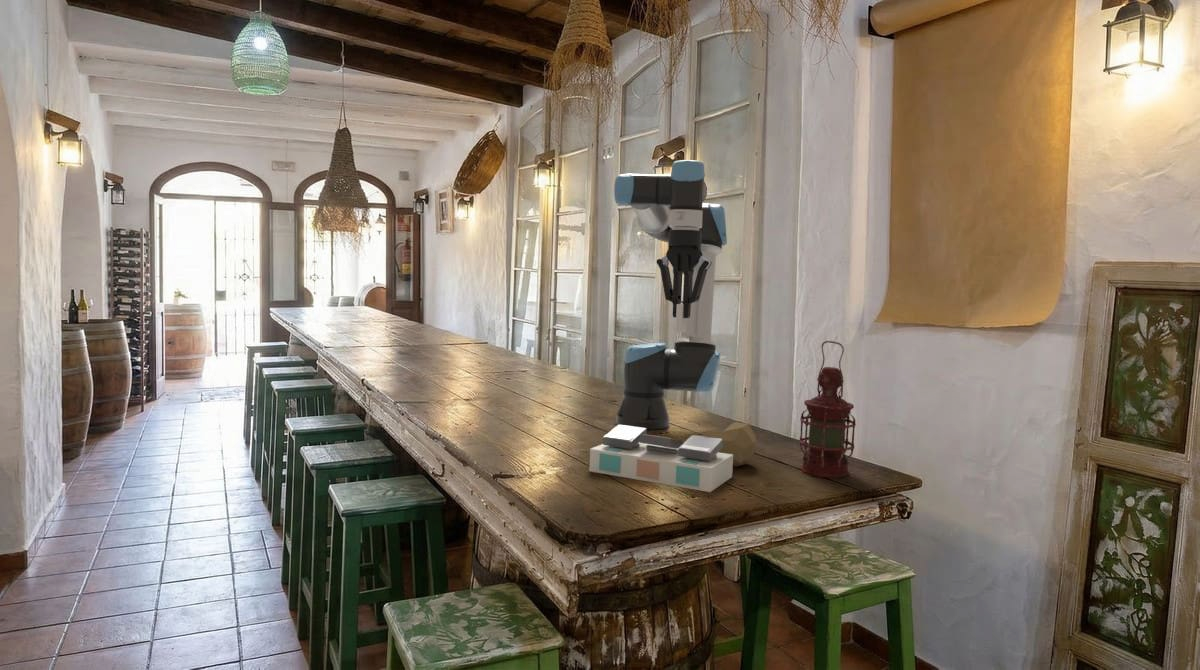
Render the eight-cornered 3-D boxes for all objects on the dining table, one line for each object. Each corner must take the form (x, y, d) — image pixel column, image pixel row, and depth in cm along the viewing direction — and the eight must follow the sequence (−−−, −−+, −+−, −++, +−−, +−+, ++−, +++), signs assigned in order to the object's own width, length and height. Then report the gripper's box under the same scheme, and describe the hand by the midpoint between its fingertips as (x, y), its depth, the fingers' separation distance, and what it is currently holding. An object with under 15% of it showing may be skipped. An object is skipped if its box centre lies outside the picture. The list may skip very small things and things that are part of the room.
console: (617, 458, 188) (618, 433, 187) (732, 477, 175) (733, 450, 175) (588, 471, 175) (589, 444, 175) (709, 492, 163) (711, 463, 162)
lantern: (786, 466, 186) (794, 338, 183) (829, 463, 190) (837, 338, 188) (819, 480, 175) (827, 344, 172) (864, 477, 179) (873, 344, 176)
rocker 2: (692, 442, 176) (692, 434, 175) (722, 446, 173) (722, 438, 172) (678, 456, 169) (678, 447, 169) (709, 461, 166) (709, 452, 165)
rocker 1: (619, 431, 184) (618, 423, 184) (646, 435, 181) (646, 427, 180) (603, 444, 177) (602, 436, 177) (631, 449, 174) (631, 440, 174)
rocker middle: (653, 444, 180) (655, 436, 180) (682, 449, 177) (684, 440, 177) (639, 442, 173) (640, 433, 173) (669, 447, 169) (670, 437, 170)
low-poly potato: (757, 461, 192) (719, 433, 197) (774, 428, 186) (734, 400, 191) (724, 489, 181) (685, 459, 186) (740, 455, 175) (699, 425, 180)
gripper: (652, 228, 183) (648, 331, 185) (706, 228, 177) (701, 335, 179) (665, 230, 189) (661, 329, 191) (717, 230, 183) (712, 333, 185)
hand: (680, 332), depth 185 cm, fingers closed
